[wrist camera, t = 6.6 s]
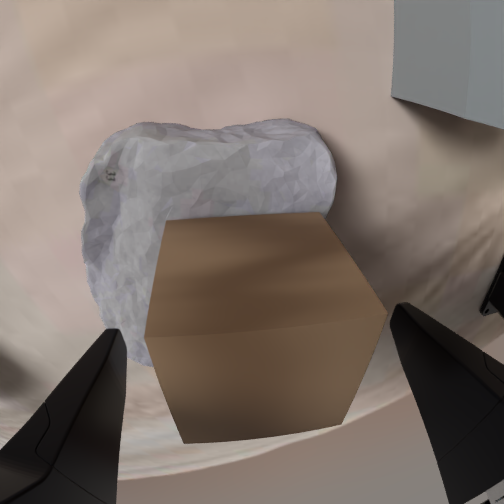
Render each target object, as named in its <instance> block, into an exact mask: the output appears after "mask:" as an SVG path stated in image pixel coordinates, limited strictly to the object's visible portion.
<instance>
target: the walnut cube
mask: <svg viewBox="0 0 504 504" xmlns="http://www.w3.org/2000/svg"><path fill="white" fill-rule="evenodd" d="M387 315H388V313H387V311H386V309H385V308H384V306H383V305H382V303H381V301H380V300H379V298H378V297H377V295H376V294H375V292H374V291H373V289H372V288H371V286H370V284H369V283H368V281H367V280H366V278H365V277H364V275H363V274H362V272H361V271H360V269H359V268H358V266H357V265H356V263H355V262H354V260H353V259H352V258H351V256H350V255H349V253H348V252H347V250H346V249H345V247H344V246H343V244H342V243H341V242H340V240H339V239H338V237H337V236H336V234H335V233H334V232H333V230H332V229H331V227H330V226H329V225H328V223H327V222H326V220H325V219H324V218H323V216H322V215H321V213H320V212H305V213H282V214H261V215H242V216H225V217H209V218H194V219H179V220H166V223H165V227H164V232H163V236H162V241H161V246H160V251H159V255H158V260H157V265H156V270H155V276H154V281H153V286H152V292H151V297H150V303H149V309H148V315H147V321H146V327H145V334H144V339H145V342H146V346H147V349H148V352H149V355H150V358H151V360H152V363H153V366H154V369H155V372H156V375H157V378H158V380H159V383H160V386H161V388H162V391H163V394H164V396H165V399H166V402H167V404H168V407H169V409H170V412H171V414H172V417H173V419H174V422H175V424H176V426H177V429H178V431H179V433H180V436H181V438H182V440H183V443H184V444H190V443H213V442H227V441H239V440H249V439H258V438H266V437H274V436H281V435H288V434H294V433H300V432H306V431H311V430H317V429H322V428H327V427H332V426H336V425H341V424H342V422H343V420H344V418H345V416H346V414H347V412H348V410H349V407H350V405H351V403H352V401H353V399H354V397H355V395H356V392H357V390H358V388H359V386H360V383H361V381H362V379H363V376H364V374H365V372H366V369H367V367H368V365H369V362H370V360H371V357H372V355H373V352H374V350H375V347H376V345H377V342H378V340H379V337H380V334H381V332H382V329H383V326H384V323H385V321H386V318H387Z"/></svg>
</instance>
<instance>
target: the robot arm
mask: <svg viewBox="0 0 504 504" xmlns="http://www.w3.org/2000/svg"><path fill="white" fill-rule="evenodd" d="M496 312H498V313H499V314H500V315H501V316H502V318H503V319H504V258H503V260H502V263H501V265H500V268H499V270H498V273H497V275H496V277H495V279H494V282H493V284H492V286H491V288H490V291H489V293H488V295H487V297H486V299H485V301H484V303H483V305H482V307H481V309H480V313H481V314H482V315H483V316H486V315H489V314H492V313H496ZM390 329H391V332H392V335H393V338H394V341H395V345H396V348H397V351H398V355H399V358H400V361H401V364H402V367H403V370H404V372H405V375H406V377H407V380H408V382H409V385H410V387H411V390H412V392H413V395H414V398H415V400H416V402H417V406H418V408H419V411H420V414H421V416H422V419H423V422H424V425H425V428H426V430H427V433H428V436H429V439H430V442H431V445H432V448H433V451H434V454H435V457H436V460H437V464H438V467H439V470H440V474H441V477H442V480H443V484H444V487H445V491H446V494H447V498H448V501H449V504H464V503H466V502H468V501H469V500H471V499H473V498H475V497H476V496H478V495H480V494H482V493H483V492H485V491H486V493H487V496H488V498H489V499H487V500H486V501H484V502H483V503H481V504H504V365H503V364H502V363H500V362H498V361H497V360H496V359H494V358H492V357H491V356H489V355H488V354H486V353H485V352H483V351H482V350H480V349H479V348H477V347H476V346H475V345H473V344H472V343H470V342H468V341H467V340H465V339H464V338H462V337H461V336H459V335H458V334H456V333H455V332H453V331H452V330H450V329H449V328H447V327H446V326H444V325H443V324H441V323H439V322H438V321H436V320H435V319H433V318H432V317H430V316H429V315H427V314H425V313H424V312H422V311H421V310H419V309H418V308H416V307H414V306H413V305H411V304H410V303H408V302H404V303H398V304H397V305H396V306H395V309H394V312H393V314H392V317H391V320H390ZM126 371H127V346H126V343H125V341H124V338H123V336H122V333H121V331H120V329H118V328H108V329H106V330H105V331H104V332H103V333H102V334H101V335H100V336H99V338H98V339H97V340H96V341H95V342H94V343H93V344H92V346H91V347H90V348H89V349H88V350H87V351H86V352H85V354H84V355H83V356H82V357H81V358H80V359H79V361H78V362H77V363H76V364H75V365H74V366H73V368H72V369H71V370H70V371H69V372H68V373H67V375H66V376H65V377H64V378H63V379H62V381H61V382H60V383H59V384H58V385H57V387H56V388H55V389H54V390H53V391H52V393H51V394H50V395H49V396H48V397H47V399H46V400H45V402H43V403H42V405H41V406H40V407H39V408H38V410H37V411H36V412H35V413H34V414H33V416H32V417H31V418H30V419H29V420H28V421H27V422H26V424H25V425H24V426H23V427H22V428H21V429H20V430H19V431H18V432H17V433H16V434H15V435H14V436H13V437H12V438H11V439H10V440H9V441H8V442H7V443H6V444H5V446H4V447H3V448H2V449H1V450H0V504H116V495H117V477H118V463H119V451H120V441H121V431H122V422H123V414H124V406H125V397H126Z"/></svg>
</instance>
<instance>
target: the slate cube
mask: <svg viewBox="0 0 504 504" xmlns="http://www.w3.org/2000/svg"><path fill="white" fill-rule="evenodd" d="M391 96H392V97H396V98H399V99H403V100H407V101H411V102H414V103H418V104H421V105H424V106H428V107H431V108H434V109H437V110H441V111H444V112H447V113H450V114H453V115H456V116H458V117H461V118H464V119H468V120H472V121H476V122H479V123H483V124H487V125H490V126H494V127H497V128H501V129H504V0H394V55H393V74H392V89H391Z"/></svg>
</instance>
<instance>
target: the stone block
mask: <svg viewBox="0 0 504 504" xmlns="http://www.w3.org/2000/svg"><path fill="white" fill-rule="evenodd" d="M336 184H337V173H336V167H335V162H334V159H333V156H332V154H331V152H330V151H329V149H328V148H327V146H326V145H325V143H324V142H323V140H322V138H321V136H320V134H319V132H318V130H317V129H316V128H314V127H312V126H309V125H306V124H303V123H299V122H296V121H293V120H290V119H272V120H266V121H262V122H255V123H251V124H247V125H234V126H227V127H224V128H222V129H219V130H201V129H195V128H190V127H187V126H185V125H181V124H176V123H162V124H159V123H153V122H141V123H136V124H135V125H133V126H130V127H129V128H127V129H124V130H121V131H118V132H116V133H114V134H113V135H111V136H110V137H109V138H107V139H106V140H105V141H104V142H103V144H102V145H101V147H100V148H99V150H98V151H97V153H96V155H95V157H94V158H93V159H92V161H91V162H90V164H89V166H88V169H87V172H86V173H85V174H84V176H83V177H82V180H81V183H80V192H79V194H80V197H81V200H82V203H83V206H84V209H85V223H84V225H83V228H82V231H81V240H82V254H83V259H84V263H85V264H86V274H87V282H88V284H89V287H90V290H91V293H92V296H93V298H94V300H95V301H96V303H97V304H98V306H99V311H100V314H99V315H100V317H101V319H102V321H103V323H104V325H105V328H106V329H108V328H118V329H120V331H121V333H122V336H123V338H124V341H125V343H126V346H127V357H128V358H129V359H131V360H133V361H135V362H137V363H139V364H142V365H144V366H150V367H154V366H153V363H152V360H151V358H150V355H149V352H148V349H147V346H146V342H145V339H144V334H145V327H146V321H147V315H148V309H149V303H150V297H151V292H152V286H153V281H154V276H155V270H156V265H157V260H158V255H159V251H160V246H161V241H162V236H163V232H164V227H165V223H166V220H179V219H194V218H209V217H225V216H242V215H261V214H282V213H305V212H320V213H321V215H322V216H323V218H324V219H326V217H327V214H328V212H329V210H330V208H331V206H332V204H333V202H334V197H335V191H336Z"/></svg>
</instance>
